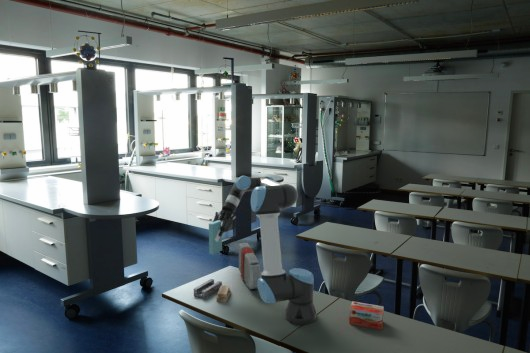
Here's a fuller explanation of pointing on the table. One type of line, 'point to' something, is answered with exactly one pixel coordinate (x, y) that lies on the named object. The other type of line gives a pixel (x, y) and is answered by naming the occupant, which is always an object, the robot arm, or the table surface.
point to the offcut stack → (223, 293)
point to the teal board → (213, 231)
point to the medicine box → (366, 315)
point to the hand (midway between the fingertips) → (213, 240)
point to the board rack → (207, 289)
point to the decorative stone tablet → (248, 266)
